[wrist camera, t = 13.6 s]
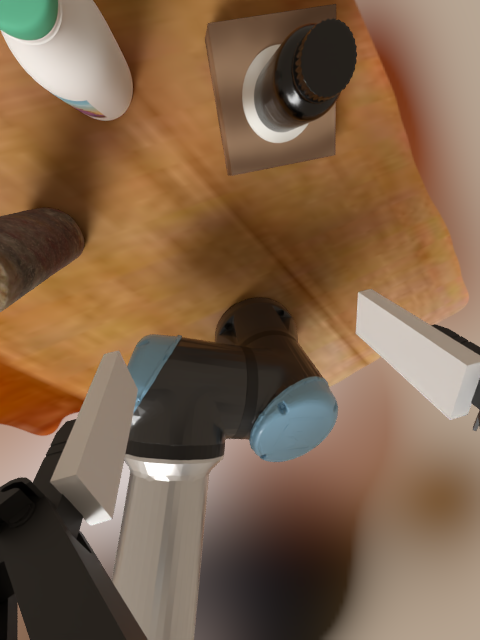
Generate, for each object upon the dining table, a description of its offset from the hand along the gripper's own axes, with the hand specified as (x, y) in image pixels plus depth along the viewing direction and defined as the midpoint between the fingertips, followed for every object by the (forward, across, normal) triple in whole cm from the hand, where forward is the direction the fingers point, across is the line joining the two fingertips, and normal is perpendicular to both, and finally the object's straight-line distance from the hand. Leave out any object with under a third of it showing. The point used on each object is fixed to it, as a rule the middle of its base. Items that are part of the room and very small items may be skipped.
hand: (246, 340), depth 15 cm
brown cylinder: (+31, +20, -4) cm, 37 cm away
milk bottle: (+31, +8, -19) cm, 37 cm away
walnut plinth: (+31, -12, -14) cm, 36 cm away
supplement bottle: (+27, -12, -14) cm, 32 cm away
